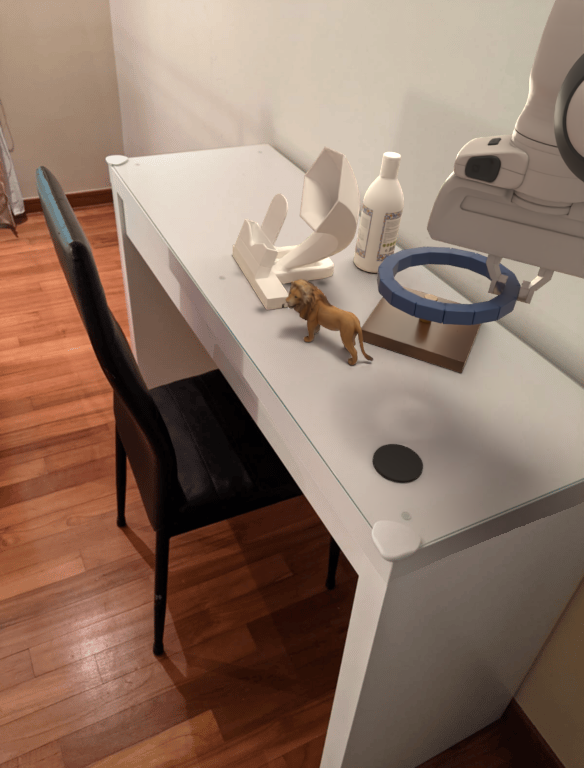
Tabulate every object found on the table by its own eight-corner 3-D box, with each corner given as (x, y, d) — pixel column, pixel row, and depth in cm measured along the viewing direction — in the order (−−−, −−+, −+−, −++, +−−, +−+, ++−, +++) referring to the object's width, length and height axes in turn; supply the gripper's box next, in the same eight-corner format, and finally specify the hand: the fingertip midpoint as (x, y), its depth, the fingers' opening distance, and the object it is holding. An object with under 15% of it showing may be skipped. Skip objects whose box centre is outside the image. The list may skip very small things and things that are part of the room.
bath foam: (394, 260, 114) (417, 152, 101) (386, 277, 108) (409, 165, 96) (358, 252, 115) (376, 144, 102) (348, 268, 110) (366, 156, 97)
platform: (482, 321, 100) (493, 289, 96) (461, 373, 88) (472, 339, 85) (389, 293, 104) (396, 261, 101) (358, 339, 93) (364, 306, 89)
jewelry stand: (232, 255, 110) (235, 109, 94) (311, 246, 115) (327, 107, 99) (280, 332, 93) (294, 169, 77) (370, 318, 98) (402, 163, 82)
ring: (525, 275, 71) (529, 263, 70) (502, 339, 60) (506, 325, 59) (400, 249, 76) (402, 237, 75) (358, 303, 65) (359, 290, 64)
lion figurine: (276, 336, 92) (281, 283, 86) (294, 320, 95) (299, 269, 90) (365, 372, 87) (375, 319, 81) (380, 353, 90) (391, 302, 85)
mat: (427, 456, 75) (428, 454, 74) (414, 490, 70) (415, 487, 70) (381, 439, 76) (382, 437, 76) (365, 471, 72) (366, 468, 72)
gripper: (673, 182, 56) (612, 310, 65) (455, 137, 62) (426, 260, 71) (675, 204, 52) (609, 339, 60) (439, 153, 57) (410, 283, 66)
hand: (509, 296), depth 65 cm, fingers closed on ring, 2 cm apart
